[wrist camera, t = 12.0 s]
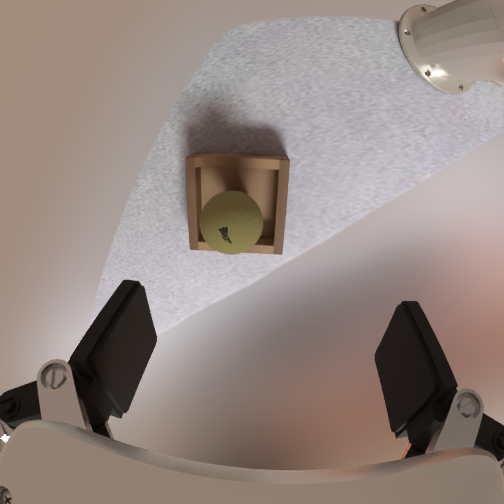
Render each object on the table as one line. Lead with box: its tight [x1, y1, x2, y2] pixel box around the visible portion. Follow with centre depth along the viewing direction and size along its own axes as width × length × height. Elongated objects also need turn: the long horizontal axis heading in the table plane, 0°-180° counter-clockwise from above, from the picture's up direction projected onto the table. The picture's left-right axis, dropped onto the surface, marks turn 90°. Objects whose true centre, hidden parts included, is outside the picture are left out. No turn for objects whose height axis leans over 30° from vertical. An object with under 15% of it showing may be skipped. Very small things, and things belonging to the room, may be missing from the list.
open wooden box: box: [186, 153, 290, 255], centre depth 30 cm, size 10×10×4 cm
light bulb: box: [200, 191, 263, 255], centre depth 26 cm, size 6×6×10 cm
